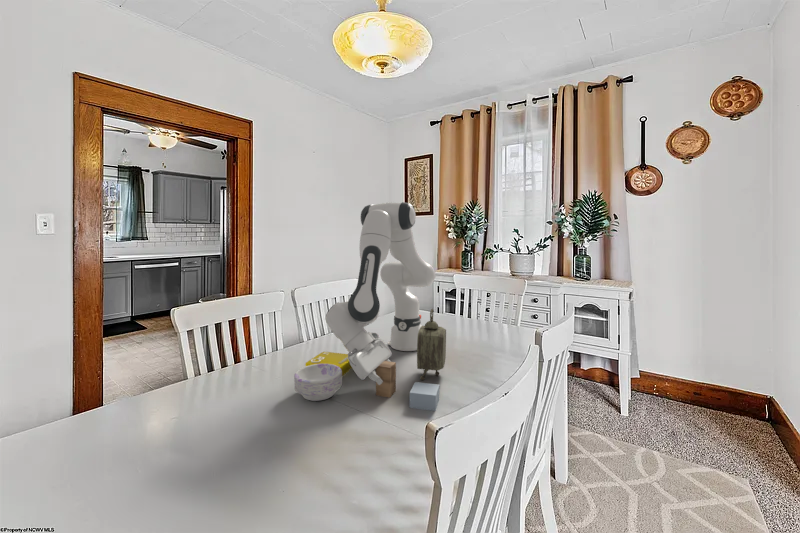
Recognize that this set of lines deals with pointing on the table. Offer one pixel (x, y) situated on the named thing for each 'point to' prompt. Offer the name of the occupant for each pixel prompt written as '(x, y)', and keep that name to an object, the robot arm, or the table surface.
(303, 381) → the paper bowls
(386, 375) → the walnut pillar
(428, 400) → the slate block
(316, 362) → the element tile
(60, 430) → the table surface
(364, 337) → the robot arm
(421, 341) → the tabletop clock
